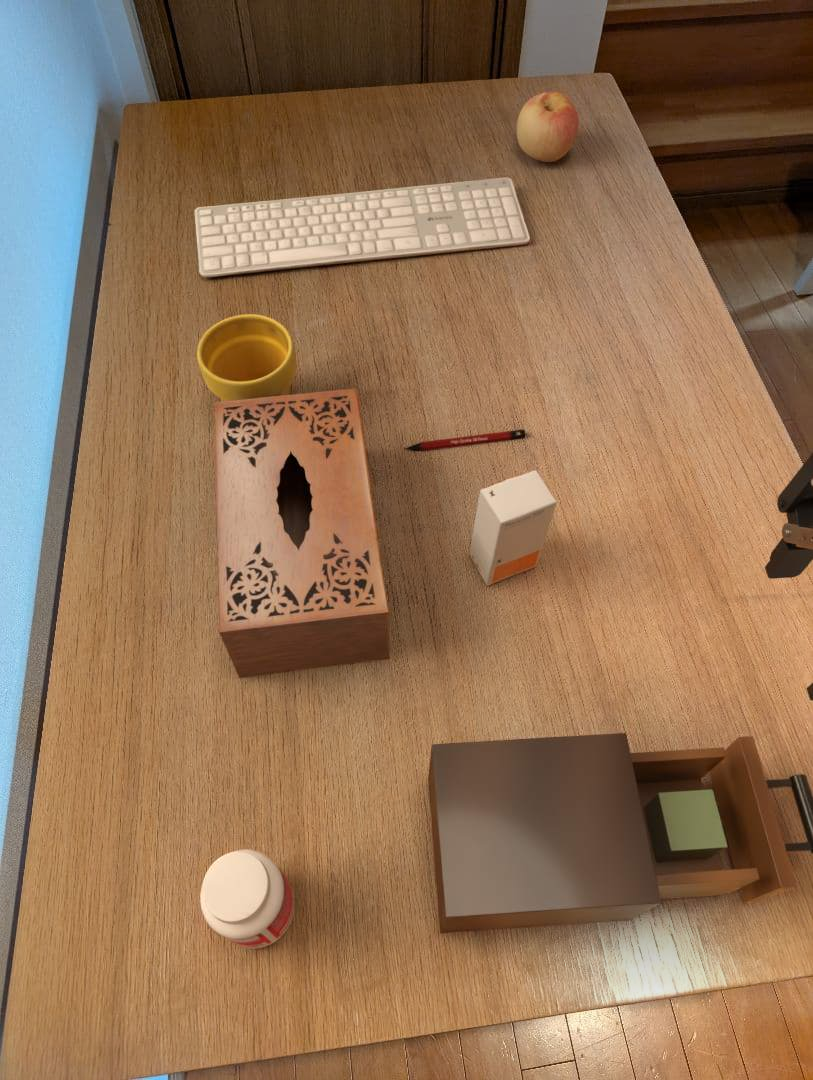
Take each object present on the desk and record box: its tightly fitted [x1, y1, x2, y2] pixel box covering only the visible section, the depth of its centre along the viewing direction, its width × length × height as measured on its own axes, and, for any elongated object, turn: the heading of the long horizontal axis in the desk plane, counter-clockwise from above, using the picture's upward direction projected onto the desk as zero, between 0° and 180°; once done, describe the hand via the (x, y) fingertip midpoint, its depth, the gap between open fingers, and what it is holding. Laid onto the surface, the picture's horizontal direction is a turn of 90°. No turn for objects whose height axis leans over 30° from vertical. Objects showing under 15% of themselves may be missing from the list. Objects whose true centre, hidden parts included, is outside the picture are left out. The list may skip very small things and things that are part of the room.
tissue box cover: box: [214, 387, 391, 678], centre depth 81 cm, size 26×14×10 cm, turn 8°
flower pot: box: [196, 313, 297, 402], centre depth 91 cm, size 10×10×10 cm
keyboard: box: [194, 177, 531, 279], centre depth 111 cm, size 44×12×2 cm, turn 100°
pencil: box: [404, 428, 526, 452], centre depth 93 cm, size 1×14×1 cm, turn 99°
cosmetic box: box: [469, 470, 558, 587], centre depth 80 cm, size 6×4×12 cm
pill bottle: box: [199, 848, 296, 949], centre depth 63 cm, size 6×6×11 cm
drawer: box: [630, 735, 813, 904], centre depth 66 cm, size 19×11×8 cm, turn 94°
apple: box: [516, 91, 580, 163], centre depth 118 cm, size 9×9×8 cm
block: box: [644, 788, 729, 862], centre depth 67 cm, size 4×4×4 cm
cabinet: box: [427, 732, 662, 934], centre depth 66 cm, size 16×13×10 cm
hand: (800, 631), depth 52 cm, fingers open, 8 cm apart
